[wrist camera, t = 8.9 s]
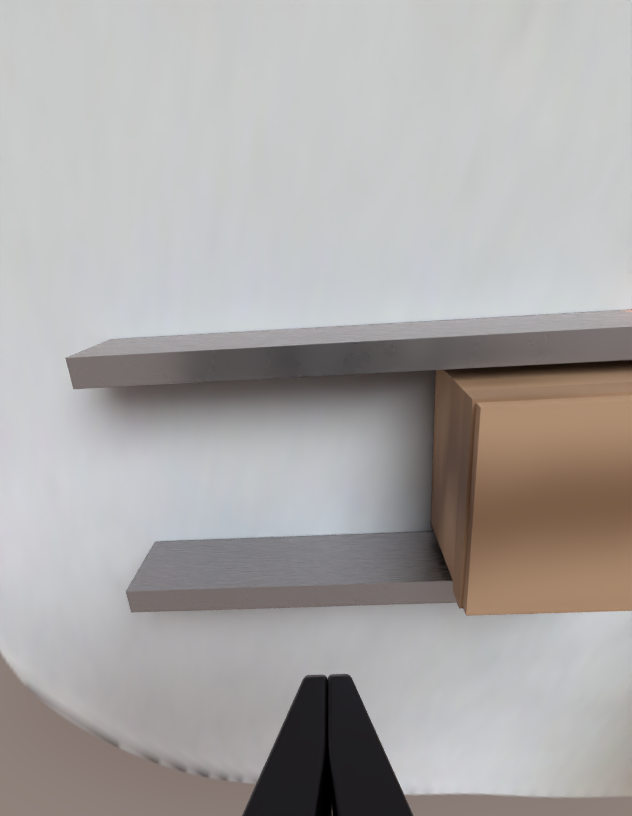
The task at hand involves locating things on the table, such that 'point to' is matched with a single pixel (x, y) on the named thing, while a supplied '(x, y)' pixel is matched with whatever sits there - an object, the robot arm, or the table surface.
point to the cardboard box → (535, 486)
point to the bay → (324, 356)
